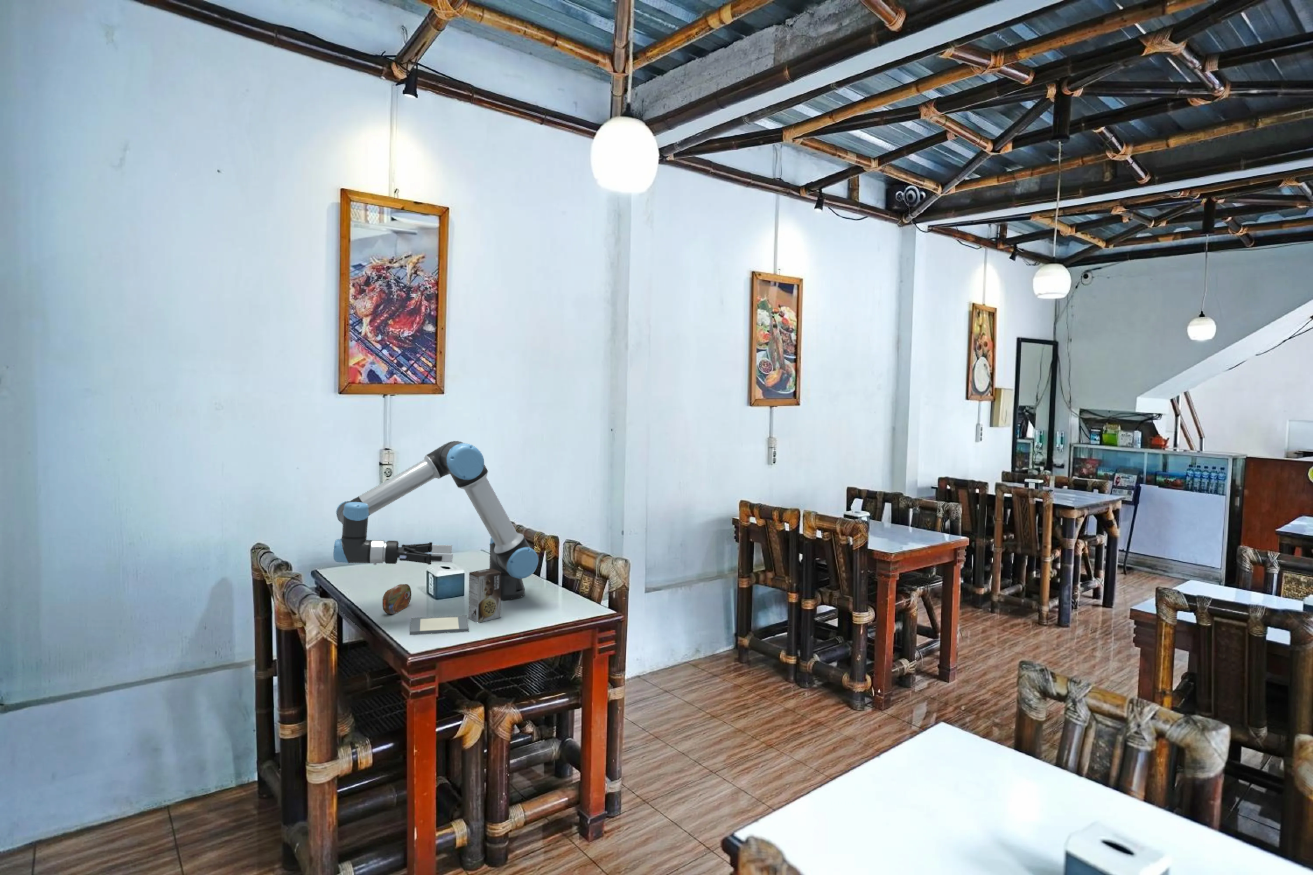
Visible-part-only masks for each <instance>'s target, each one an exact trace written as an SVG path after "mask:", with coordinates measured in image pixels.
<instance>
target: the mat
mask: <svg viewBox="0 0 1313 875" xmlns="http://www.w3.org/2000/svg"><path fill="white" fill-rule="evenodd" d="M469 629H470V628H469V622H468V615H467V614H463V615H461V614H460V615H441V616H440V615H439V616H422V617H410V626H409V635H410V636H411V635H414V636H415V635H426V634H428V635H429V634H431V633H432V634H445V633H444V632H446V634H448V633H447V632H450V633H465V632H464V631H468V632H470V630H469ZM432 634H431V635H432Z"/></svg>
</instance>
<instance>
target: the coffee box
mask: <svg viewBox="0 0 1313 875" xmlns="http://www.w3.org/2000/svg"><path fill="white" fill-rule="evenodd" d="M489 568H490V567H489ZM489 568H486V569H480V570H475V571H470V572H468V573H469V574H468V579H469V580H468V616H467V619H469V620H471V621H473V622H475V623H477V622H478V623H479V622H480V623H483V622H487V621H488V622H489V621H491V620H495V619H499V618H501V610H502V609H501V608H502V607H501V606H502V604H501V602H502V600H501V572H499V571H497V570H495V569H492V568H490V569H489ZM480 623H479V624H480Z"/></svg>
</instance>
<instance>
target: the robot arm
mask: <svg viewBox="0 0 1313 875" xmlns="http://www.w3.org/2000/svg"><path fill="white" fill-rule="evenodd" d="M423 458H424V459H422V460H420V461H419V462H417V463H416V464H413V465H412V466H409V467H408V468H406V469H405V470H403V471H401V472H399V473H397V474H396V475H394V476H392V477H391V478H388V479H386V480H384V481H383V482H382V483H379V484H378V485H376V486H375V487H373V488H370V489H369V490H367V491H365V492H363V493H362V494H360V495H358V496H357V497H355V498H353V499H351V500H347V501H342V502H341V503H340V504H338V506H337V507H336V511H335V513H336V518H337V520H338V521H339V522H340V523H341V524H342V531H341V533H342V534H341V538H338V539H335V541H334V545H333V560H334V562H337V563H344V564H345V563H346V564H373V566H376V565H377V564H383V563H385V564H386V565H387V564H388V565H389V564H390V565H391V564H392V565H397V563H398V559H399V561H401V562H403V561H404V562H413V563H419V564H422V563H423V564H426V565H427V566H428V565H432V563H453V560H454V559H453V558H454V556H453V555H454V553H452V552H453V551H452V549H453V545H451V544H433V542H431V541H430V542H429V543H428V542H427V543H426V542H425V543H414V544H404V543H403V544H401V546H400V547H399V541H398V540H387V541H385V540H384V539H383V540H382V539H368V538H367V537H368V535H367V534H368V523H369V516H370V515H372V514H374V513H376V512H378V511H380V510H381V509H383V508H385V507H387V506H389V505H390V504H392V503H395V501H397V500H399V499H400V498H403V497H404V496H406V495H407V494H409V493H411V492H413V491H415V490H416V489H418V488H420V487H422V486H424V485H425V484H427V483H429V482H430V481H432V480H434V479H437V480H440V479H441V478H443V477H445V476H447V475H448V476H449V475H450V476H451V478H452V480H453V481H454V483H455V485H456V487H457V488H458V489H462V490H464V492H465V493H466V495H467V496H468V499H469V500H470V503H471V504H472V506H473V507H474V509H475V510H476V513H477V514H478V516H479V519H480V520H481V521H482V523H483V525H484V527H485V529H486V531H487V533H488V534H489V536H490V540H489V541H490V542H489V568H488V569H490V568H492V569H495V570H497V571H499V572H501V601H509V600H516V599H520V598H523V597H524V596H525V592H526V590H525V585H524V582H523V579H526V578H529V577H530V576H532V575H533V574H534V572H535V571H536V569H537V567H538V565H539V556H538V553H537V551H536V550H535V549H533V548H532V547H531V546H530V545H529V543H528V541H527V540H526V538H525V536H524V534H523V533H519V532H517V530H516V528H515V527H514V525H513V523H512V521H511V519H510V517H509V515H508V514H507V512H506V510H505V508H504V507H503V505H502V502H501V501H500V499H499V498H498V496H497V494H496V492H495V490H494V489H493V487H492V485H491V483H490V481H489V480H488V478H487V477H488V473H489V471H488V470H489V469H487V466H486V465H485V459H484V455H483V454H482V451H480V450H479V448H478V447H477V446H474V445H473V444H470V443H466V442H462V441H459V440H453V441H448V442H446V443H444V444H442V445H441V446H439V447H437V448H436V449H434V450H432V451H431V452H429V453H427V454H426V455H425V456H424V457H423Z"/></svg>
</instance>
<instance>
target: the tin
mask: <svg viewBox="0 0 1313 875" xmlns="http://www.w3.org/2000/svg"><path fill="white" fill-rule="evenodd" d="M411 600H412V589H411V586H410V585H409V584H408V583H405V584H403V583H400V584H397V585H396V586H395V585H394V586H393V587H391V588H389V589H387V590H386V591H385V593H384V594H383V597H382V610H383V613H386V614H387V615H395V614H398V613H399V612H401V611H403V610H405V609H406V608H407V607H409V605H410V603H411Z"/></svg>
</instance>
